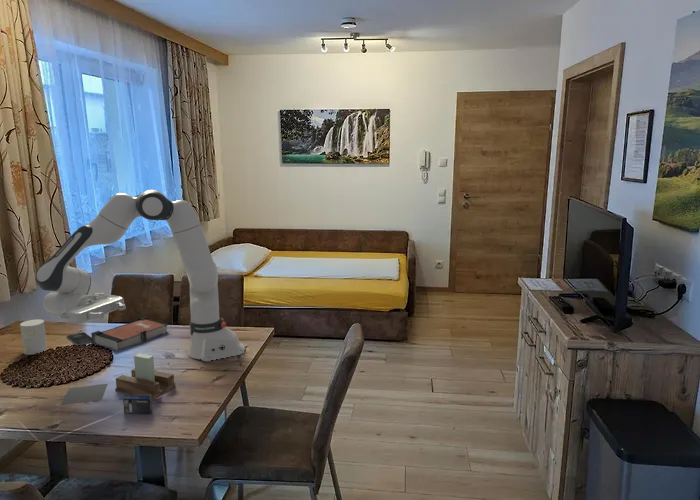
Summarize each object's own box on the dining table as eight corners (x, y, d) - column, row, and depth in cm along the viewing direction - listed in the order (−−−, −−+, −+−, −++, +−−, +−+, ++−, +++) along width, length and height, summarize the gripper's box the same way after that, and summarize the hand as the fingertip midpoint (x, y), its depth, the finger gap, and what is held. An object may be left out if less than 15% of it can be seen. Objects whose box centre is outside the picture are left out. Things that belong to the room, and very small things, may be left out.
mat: (107, 384, 171) (107, 383, 171) (101, 400, 159) (101, 399, 159) (69, 389, 167) (69, 388, 167) (60, 405, 156) (60, 404, 156)
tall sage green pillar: (141, 382, 170) (139, 353, 168) (155, 385, 168) (153, 355, 166) (136, 385, 168) (134, 355, 166) (150, 388, 166) (148, 358, 164)
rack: (139, 378, 176) (138, 366, 175) (175, 386, 170) (174, 373, 170) (115, 391, 166) (114, 379, 165) (152, 400, 160) (152, 387, 159)
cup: (18, 352, 197) (15, 324, 194) (38, 345, 204) (35, 318, 202) (32, 355, 194) (29, 327, 191) (51, 348, 201) (48, 321, 199)
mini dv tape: (124, 413, 152) (123, 396, 151) (126, 411, 153) (125, 393, 152) (150, 414, 152) (149, 396, 151) (152, 411, 153) (151, 394, 152)
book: (118, 352, 200) (117, 341, 199) (92, 344, 208) (91, 333, 207) (169, 333, 222) (169, 322, 221) (144, 326, 230) (143, 316, 229)
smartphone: (84, 332, 220) (95, 340, 209) (84, 333, 220) (96, 342, 209) (65, 336, 214) (77, 344, 204) (65, 337, 214) (77, 346, 204)
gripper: (56, 307, 162) (87, 312, 157) (105, 291, 180) (134, 295, 176) (58, 325, 163) (89, 330, 158) (107, 307, 182) (136, 311, 177)
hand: (113, 311), depth 167 cm, fingers open, 8 cm apart
